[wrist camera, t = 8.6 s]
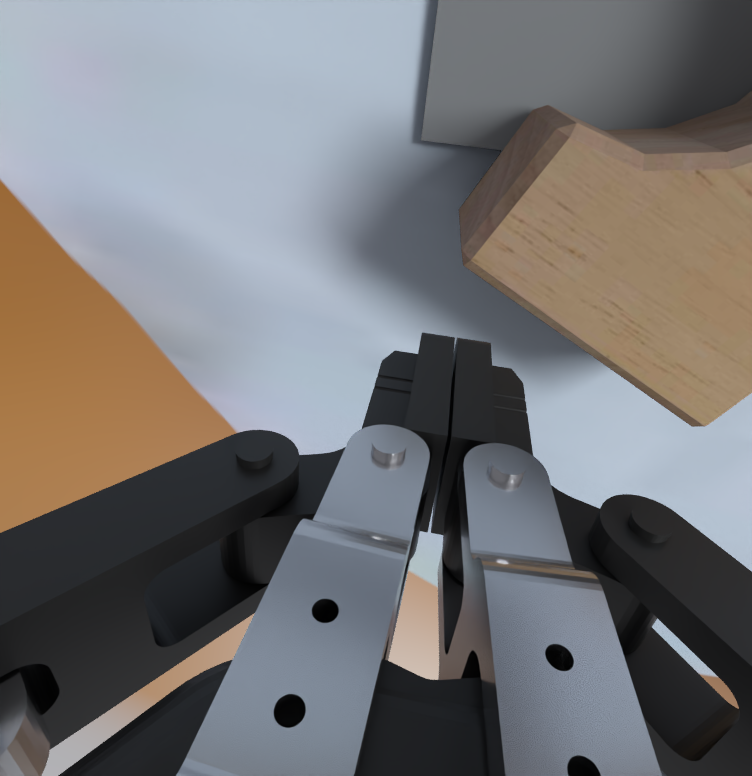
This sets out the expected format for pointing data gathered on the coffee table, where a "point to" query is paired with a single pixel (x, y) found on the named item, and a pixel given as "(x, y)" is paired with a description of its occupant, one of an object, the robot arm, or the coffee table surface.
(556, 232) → the decorative block
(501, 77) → the mat
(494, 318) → the coffee table surface
